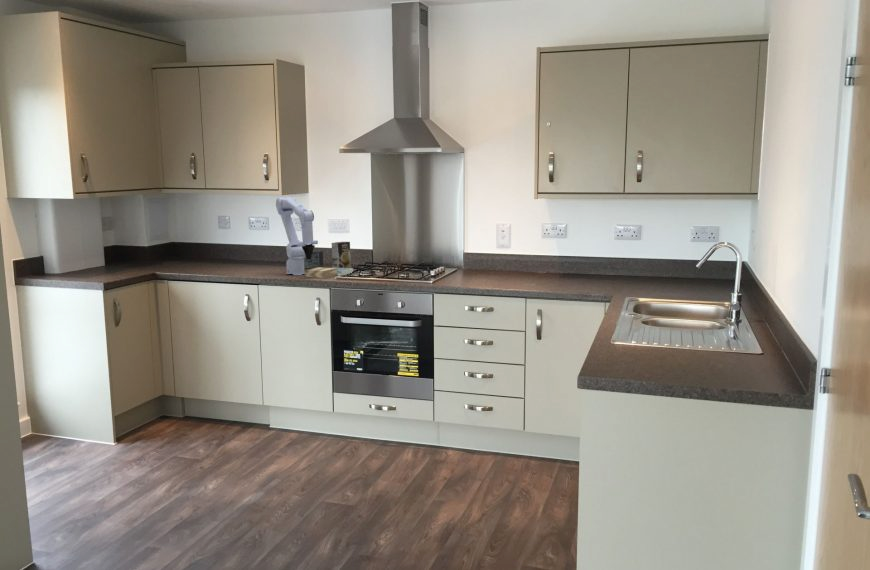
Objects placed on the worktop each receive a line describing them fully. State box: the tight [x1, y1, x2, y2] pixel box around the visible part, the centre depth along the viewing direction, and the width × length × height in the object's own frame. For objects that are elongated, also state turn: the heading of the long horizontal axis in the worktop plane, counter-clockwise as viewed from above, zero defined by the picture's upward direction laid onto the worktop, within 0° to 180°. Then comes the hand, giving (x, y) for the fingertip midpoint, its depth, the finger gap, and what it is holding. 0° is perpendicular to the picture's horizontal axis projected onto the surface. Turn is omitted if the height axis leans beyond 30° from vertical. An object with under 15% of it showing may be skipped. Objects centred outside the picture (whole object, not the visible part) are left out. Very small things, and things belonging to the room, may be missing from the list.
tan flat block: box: [305, 267, 338, 279], centre depth 393 cm, size 13×11×4 cm
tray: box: [337, 267, 355, 277], centre depth 401 cm, size 14×11×2 cm
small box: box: [304, 250, 325, 270], centre depth 426 cm, size 11×6×10 cm, turn 80°
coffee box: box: [331, 241, 352, 268], centre depth 414 cm, size 9×6×16 cm
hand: (308, 258), depth 390 cm, fingers closed
